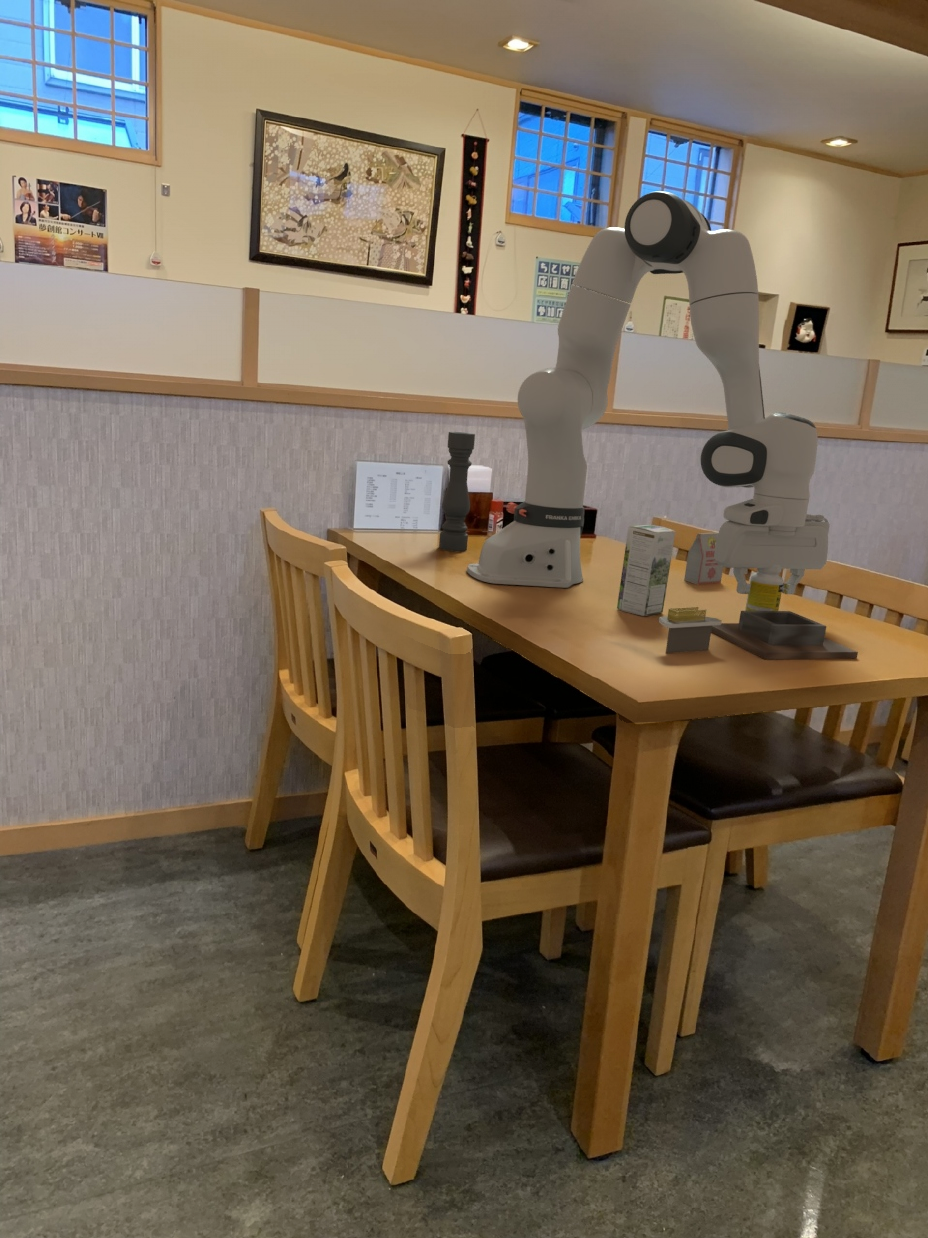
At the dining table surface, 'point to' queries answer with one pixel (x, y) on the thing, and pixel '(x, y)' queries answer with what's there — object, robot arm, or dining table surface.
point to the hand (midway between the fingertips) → (765, 593)
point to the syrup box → (645, 569)
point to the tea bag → (703, 561)
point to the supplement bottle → (765, 590)
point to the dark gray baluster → (457, 493)
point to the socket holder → (782, 636)
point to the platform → (688, 629)
